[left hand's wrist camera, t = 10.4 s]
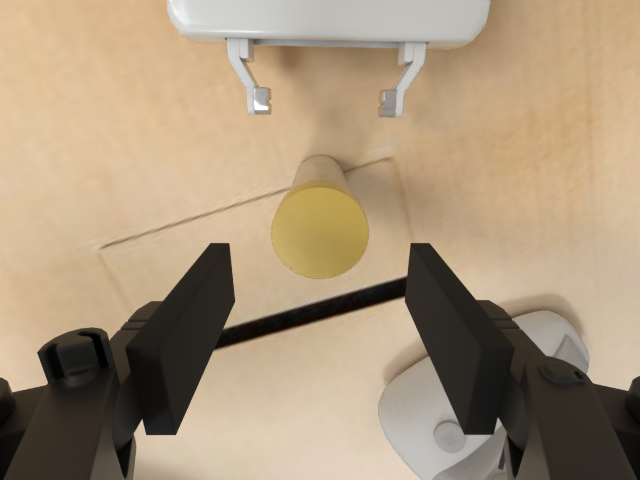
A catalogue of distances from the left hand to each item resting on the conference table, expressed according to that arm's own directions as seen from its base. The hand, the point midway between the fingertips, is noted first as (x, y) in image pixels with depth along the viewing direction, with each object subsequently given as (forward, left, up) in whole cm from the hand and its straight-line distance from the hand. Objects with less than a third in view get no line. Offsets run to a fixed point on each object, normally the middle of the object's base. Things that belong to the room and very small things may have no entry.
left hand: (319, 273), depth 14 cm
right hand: (+6, +2, -14) cm, 15 cm away
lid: (0, 0, -5) cm, 5 cm away
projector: (-16, -25, -21) cm, 36 cm away
